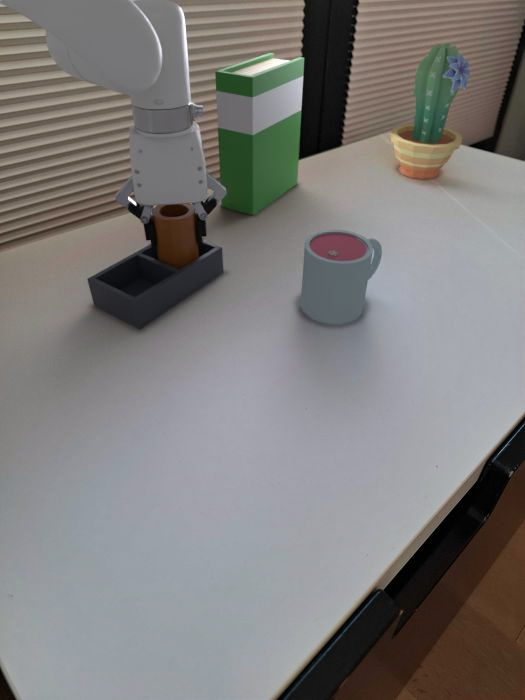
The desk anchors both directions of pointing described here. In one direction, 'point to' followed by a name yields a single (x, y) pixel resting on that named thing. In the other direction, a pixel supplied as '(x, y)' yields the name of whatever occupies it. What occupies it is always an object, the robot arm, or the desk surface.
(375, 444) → the desk surface
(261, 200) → the hardback book
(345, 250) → the mug
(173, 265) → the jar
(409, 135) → the potted cactus
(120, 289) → the divided tray
